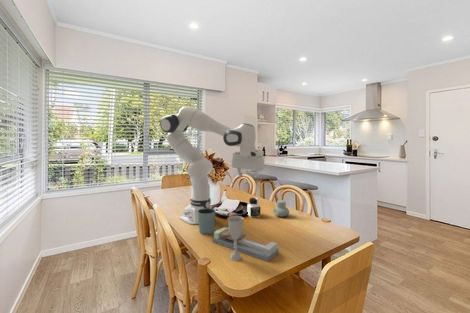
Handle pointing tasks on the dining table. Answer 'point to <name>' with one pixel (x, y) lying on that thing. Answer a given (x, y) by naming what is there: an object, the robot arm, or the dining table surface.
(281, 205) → the grey rounded piece
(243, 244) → the rail board
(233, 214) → the carriage
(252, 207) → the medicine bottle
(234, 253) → the chalice
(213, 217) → the teal cup
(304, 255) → the dining table surface
